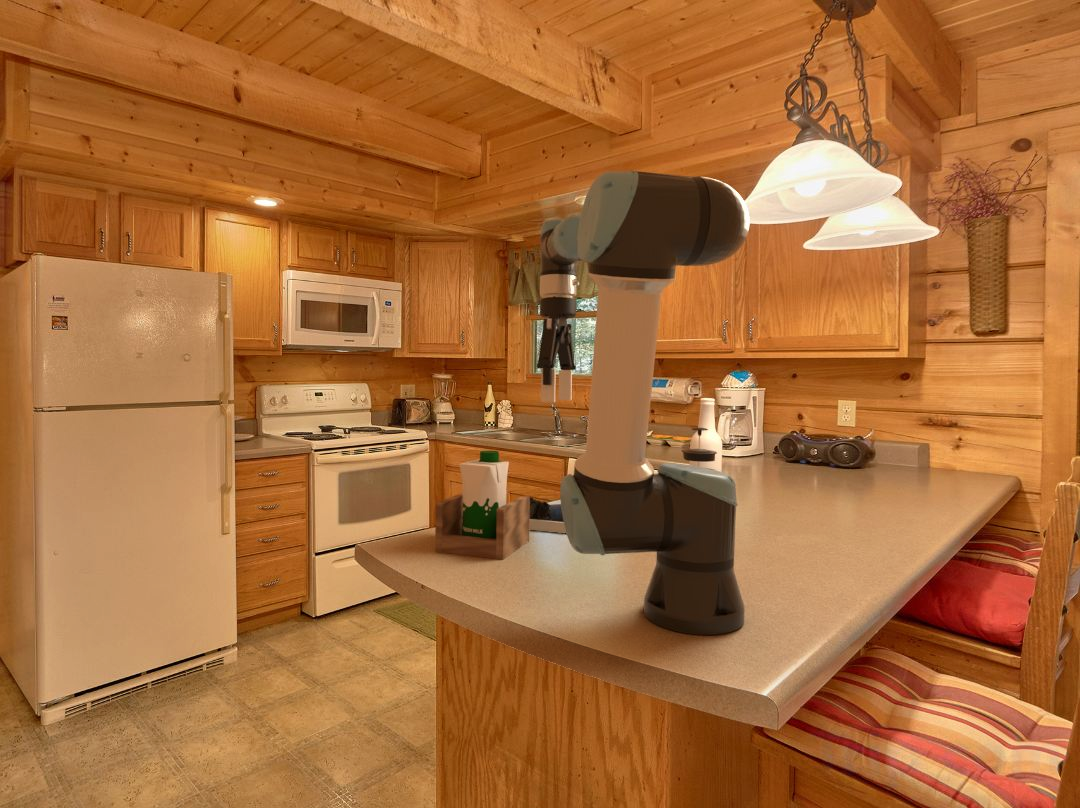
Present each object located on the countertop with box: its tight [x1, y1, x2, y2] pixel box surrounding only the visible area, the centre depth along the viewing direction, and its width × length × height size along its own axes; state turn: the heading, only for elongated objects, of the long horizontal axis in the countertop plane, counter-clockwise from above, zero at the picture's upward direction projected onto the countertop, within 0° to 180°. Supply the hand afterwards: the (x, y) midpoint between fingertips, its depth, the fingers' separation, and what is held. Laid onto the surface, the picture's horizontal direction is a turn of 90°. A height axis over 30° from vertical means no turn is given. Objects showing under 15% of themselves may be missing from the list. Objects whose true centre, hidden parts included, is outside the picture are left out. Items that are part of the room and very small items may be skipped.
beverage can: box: [530, 496, 564, 522], centre depth 160 cm, size 9×8×12 cm
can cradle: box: [529, 515, 567, 535], centre depth 160 cm, size 15×12×2 cm
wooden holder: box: [434, 492, 531, 561], centre depth 139 cm, size 15×15×10 cm
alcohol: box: [689, 397, 723, 472], centre depth 185 cm, size 9×9×30 cm
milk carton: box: [458, 450, 510, 539], centre depth 139 cm, size 9×9×20 cm
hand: (557, 401), depth 136 cm, fingers open, 13 cm apart
